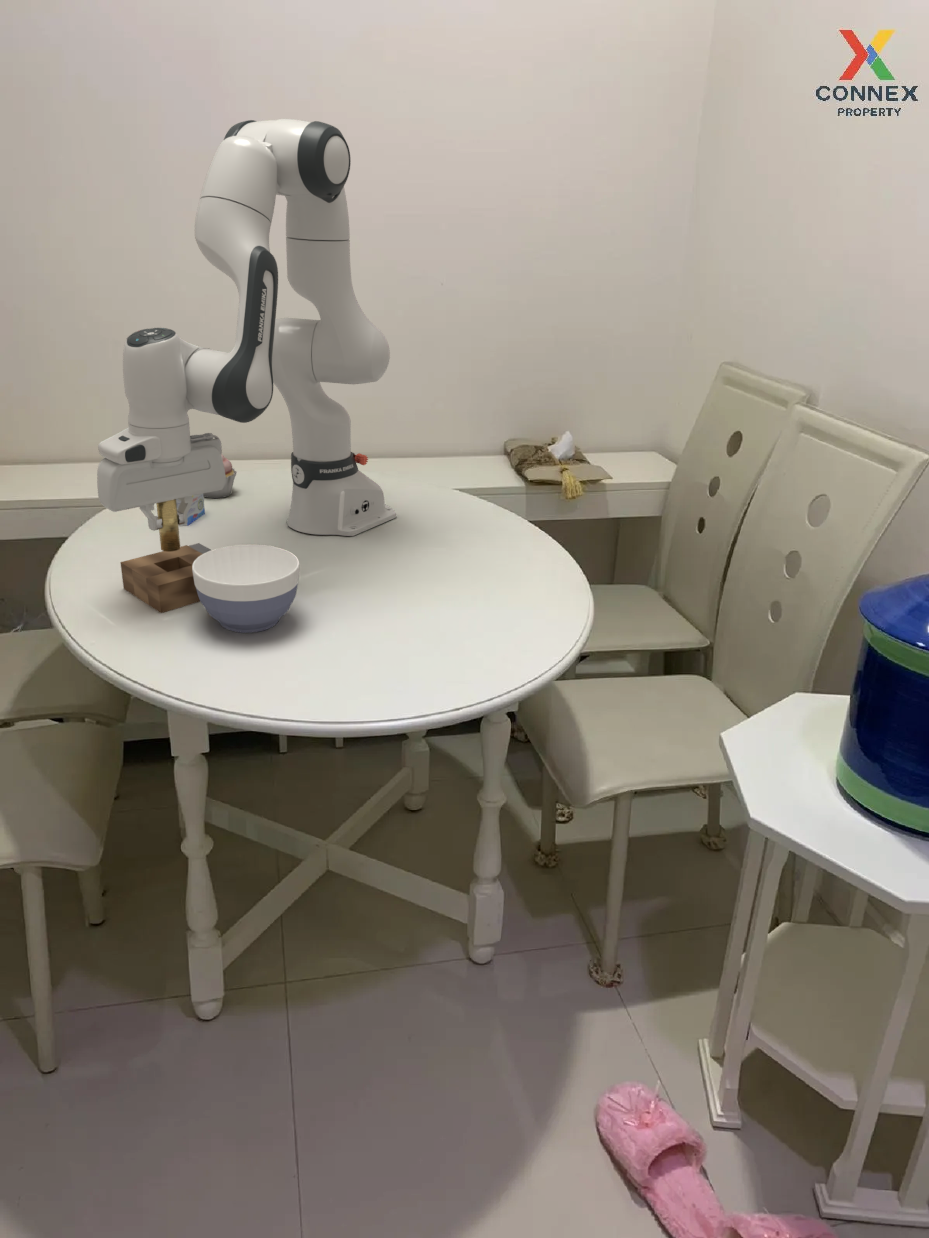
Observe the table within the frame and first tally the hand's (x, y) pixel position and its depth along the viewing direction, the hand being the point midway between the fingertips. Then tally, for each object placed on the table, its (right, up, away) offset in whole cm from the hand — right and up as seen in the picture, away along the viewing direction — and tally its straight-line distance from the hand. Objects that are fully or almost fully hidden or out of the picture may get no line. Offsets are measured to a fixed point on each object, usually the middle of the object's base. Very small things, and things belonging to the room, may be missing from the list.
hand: (168, 526), depth 147 cm
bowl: (+13, -15, -2) cm, 20 cm away
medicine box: (-8, +5, +36) cm, 37 cm away
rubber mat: (-3, -4, +19) cm, 19 cm away
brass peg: (0, -3, +2) cm, 4 cm away
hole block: (0, -10, +5) cm, 12 cm away
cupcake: (-6, +12, +50) cm, 52 cm away
